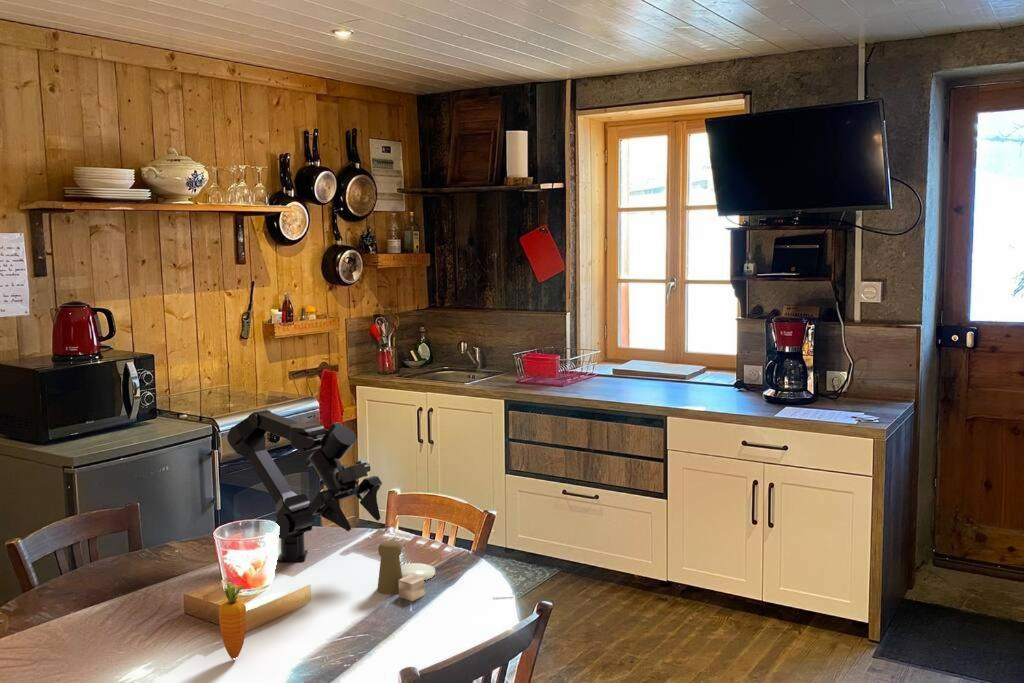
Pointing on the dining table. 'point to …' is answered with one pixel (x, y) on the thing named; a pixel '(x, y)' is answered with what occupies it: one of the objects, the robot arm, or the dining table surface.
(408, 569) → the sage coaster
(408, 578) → the marked birch block
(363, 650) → the dining table surface
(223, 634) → the carrot
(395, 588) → the pepper mill
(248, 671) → the dining table surface
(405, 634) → the dining table surface
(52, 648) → the dining table surface
